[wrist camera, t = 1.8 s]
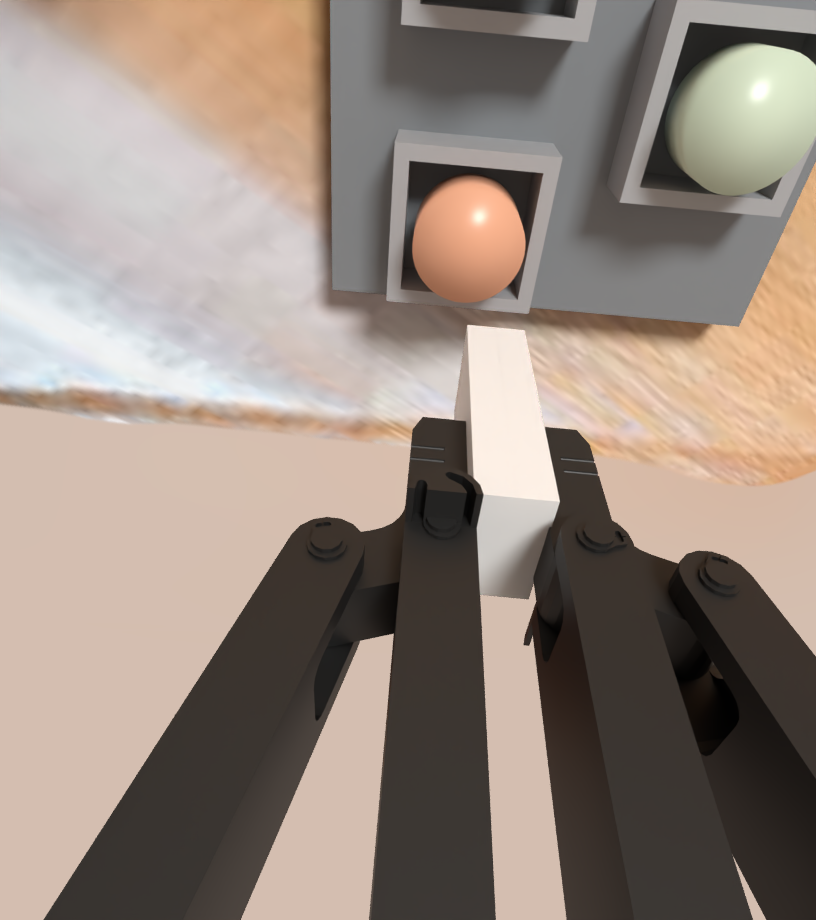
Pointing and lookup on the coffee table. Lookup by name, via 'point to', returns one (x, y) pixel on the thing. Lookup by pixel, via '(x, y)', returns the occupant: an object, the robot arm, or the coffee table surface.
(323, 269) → the coffee table surface
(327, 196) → the coffee table surface
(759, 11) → the panel
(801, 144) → the sage button
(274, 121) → the coffee table surface
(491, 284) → the terracotta button
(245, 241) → the coffee table surface
